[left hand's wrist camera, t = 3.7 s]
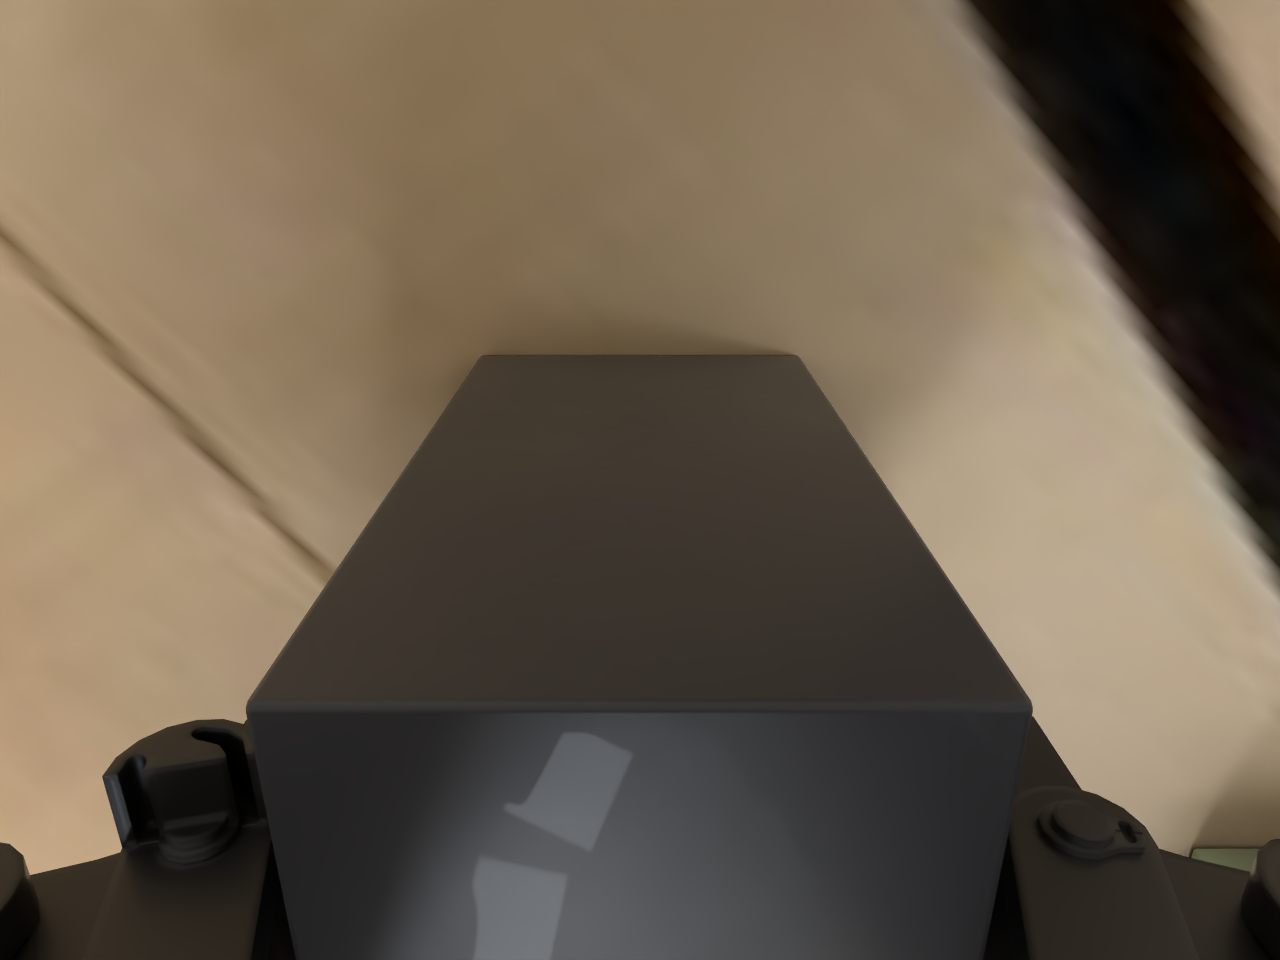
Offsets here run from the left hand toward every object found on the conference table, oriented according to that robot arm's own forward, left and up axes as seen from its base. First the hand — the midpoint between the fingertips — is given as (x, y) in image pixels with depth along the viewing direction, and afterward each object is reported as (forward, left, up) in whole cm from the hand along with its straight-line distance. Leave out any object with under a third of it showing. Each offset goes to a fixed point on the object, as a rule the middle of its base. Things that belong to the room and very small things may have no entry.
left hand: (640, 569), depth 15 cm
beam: (0, +8, -1) cm, 9 cm away
